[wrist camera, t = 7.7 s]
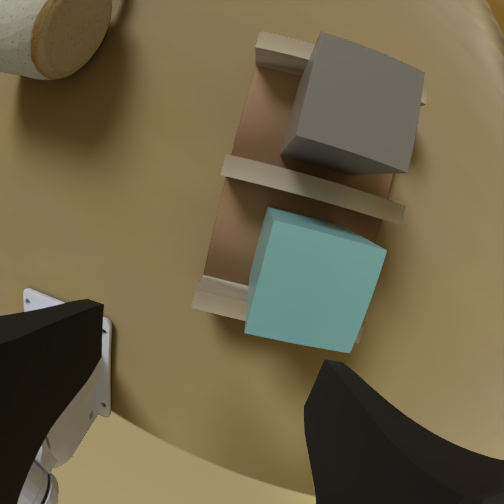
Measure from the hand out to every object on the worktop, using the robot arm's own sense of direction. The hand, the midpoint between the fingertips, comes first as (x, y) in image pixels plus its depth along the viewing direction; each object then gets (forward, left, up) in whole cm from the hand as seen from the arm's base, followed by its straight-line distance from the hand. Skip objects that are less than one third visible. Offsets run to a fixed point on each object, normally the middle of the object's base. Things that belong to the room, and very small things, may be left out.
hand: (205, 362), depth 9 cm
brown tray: (+6, -3, -9) cm, 12 cm away
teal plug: (+3, -3, -9) cm, 9 cm away
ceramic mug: (+15, +16, -10) cm, 24 cm away
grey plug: (+9, -3, -9) cm, 13 cm away
